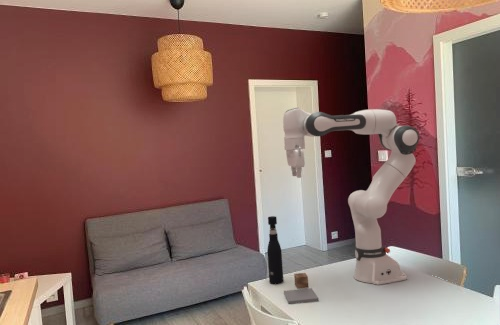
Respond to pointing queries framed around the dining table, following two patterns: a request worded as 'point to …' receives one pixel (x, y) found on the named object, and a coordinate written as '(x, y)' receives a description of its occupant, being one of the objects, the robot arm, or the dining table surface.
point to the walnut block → (301, 280)
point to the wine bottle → (274, 254)
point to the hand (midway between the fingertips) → (296, 176)
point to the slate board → (300, 296)
